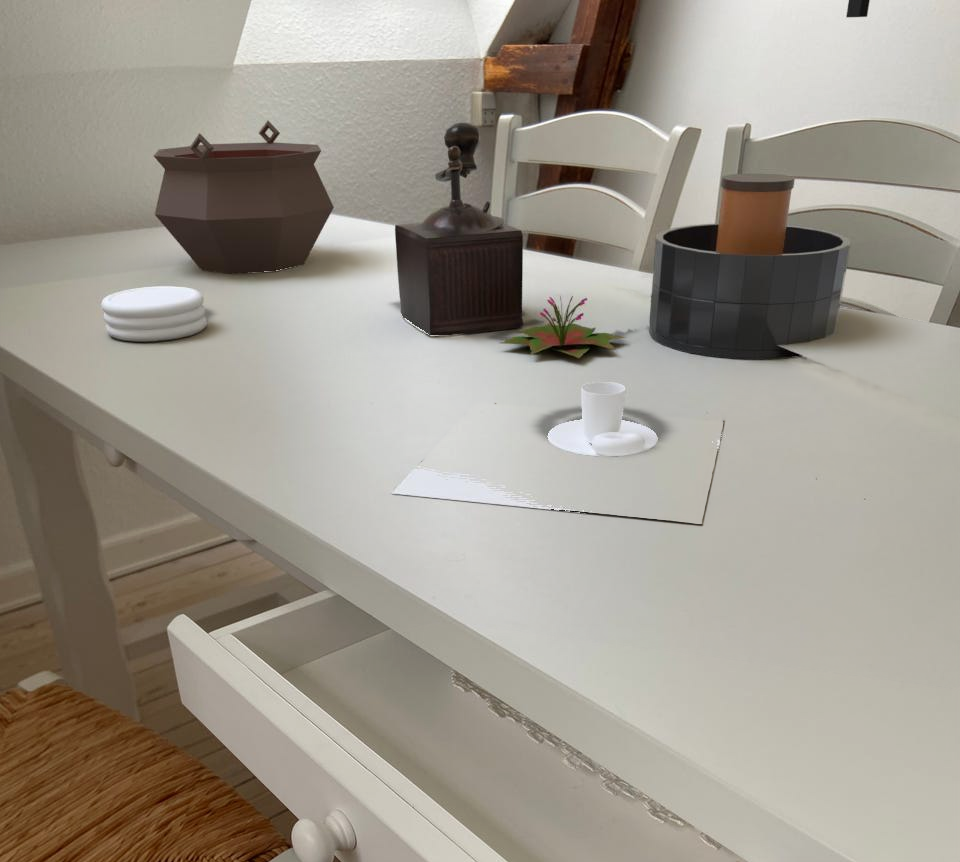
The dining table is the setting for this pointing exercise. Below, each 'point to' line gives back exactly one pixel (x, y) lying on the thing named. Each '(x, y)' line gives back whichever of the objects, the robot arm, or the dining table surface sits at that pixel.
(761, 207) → the travel tumbler
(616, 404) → the teacup and saucer
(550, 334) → the lily flower
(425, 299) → the coffee grinder
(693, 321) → the pot
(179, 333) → the coaster
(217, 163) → the brown cauldron
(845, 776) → the dining table surface
